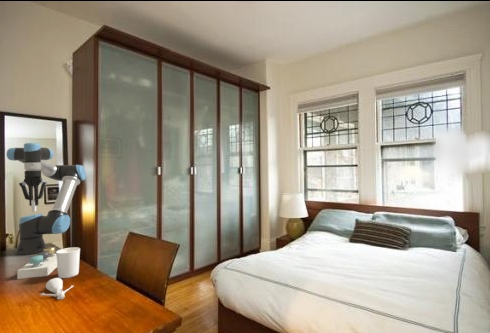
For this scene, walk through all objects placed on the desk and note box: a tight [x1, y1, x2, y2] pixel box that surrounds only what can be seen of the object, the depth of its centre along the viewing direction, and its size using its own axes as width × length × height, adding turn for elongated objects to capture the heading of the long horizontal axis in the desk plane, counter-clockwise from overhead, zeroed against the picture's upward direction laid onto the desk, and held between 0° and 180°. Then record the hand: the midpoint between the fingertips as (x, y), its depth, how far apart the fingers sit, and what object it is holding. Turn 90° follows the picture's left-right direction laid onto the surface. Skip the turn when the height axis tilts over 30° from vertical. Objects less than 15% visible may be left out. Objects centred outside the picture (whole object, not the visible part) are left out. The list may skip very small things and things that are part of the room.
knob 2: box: [43, 246, 56, 257], centre depth 149 cm, size 5×5×7 cm
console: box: [16, 253, 57, 280], centre depth 142 cm, size 25×12×4 cm, turn 17°
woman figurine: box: [39, 277, 74, 300], centre depth 113 cm, size 12×4×18 cm
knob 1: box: [29, 254, 43, 267], centre depth 134 cm, size 5×5×7 cm
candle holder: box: [55, 246, 81, 279], centre depth 132 cm, size 10×10×12 cm
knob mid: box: [36, 251, 50, 262], centre depth 142 cm, size 5×5×7 cm
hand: (34, 211), depth 156 cm, fingers closed
